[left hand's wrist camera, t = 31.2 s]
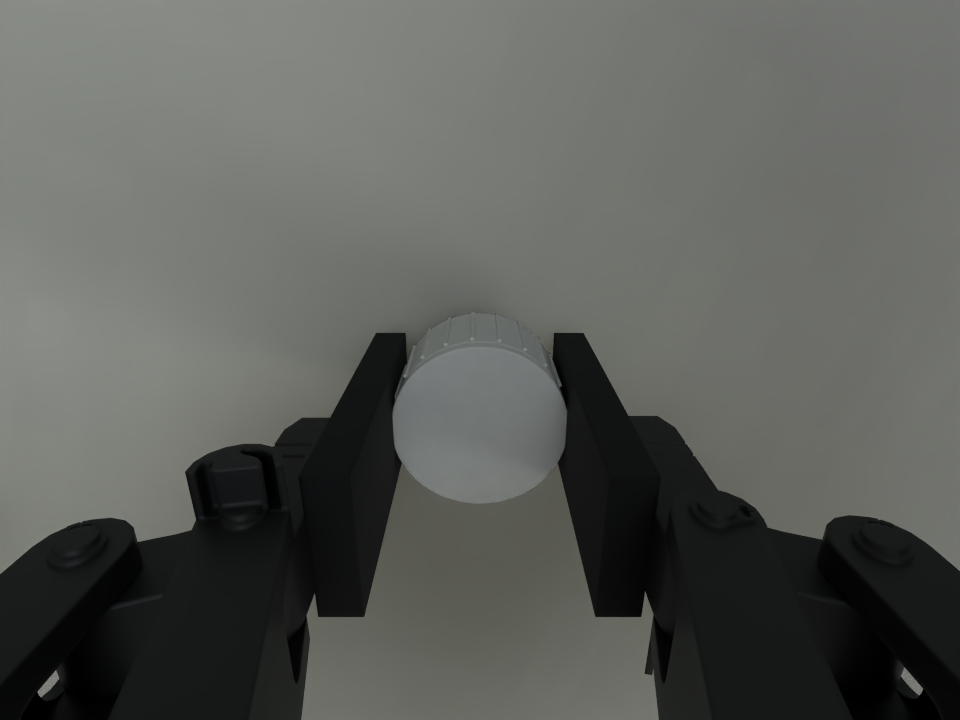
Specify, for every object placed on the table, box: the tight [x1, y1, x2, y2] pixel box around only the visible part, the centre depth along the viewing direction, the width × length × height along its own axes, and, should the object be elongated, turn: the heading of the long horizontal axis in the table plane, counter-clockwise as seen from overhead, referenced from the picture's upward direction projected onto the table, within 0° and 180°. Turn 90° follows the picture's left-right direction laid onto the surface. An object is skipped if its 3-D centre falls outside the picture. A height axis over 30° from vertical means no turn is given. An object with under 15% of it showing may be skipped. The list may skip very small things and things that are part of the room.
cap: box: [392, 312, 567, 504], centre depth 13 cm, size 4×4×2 cm
